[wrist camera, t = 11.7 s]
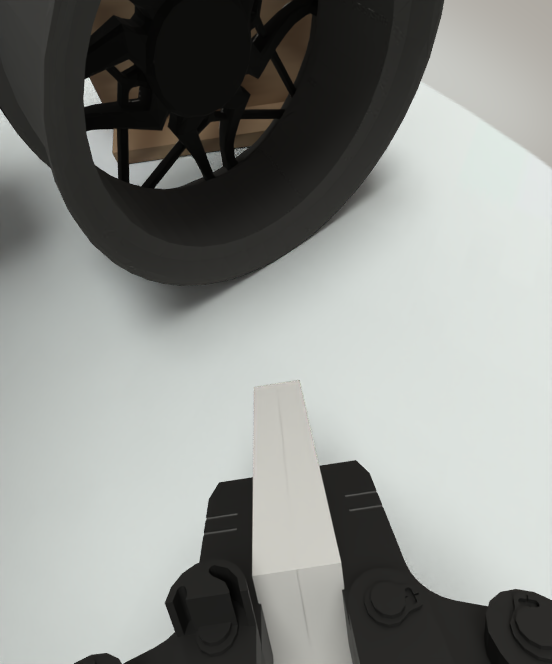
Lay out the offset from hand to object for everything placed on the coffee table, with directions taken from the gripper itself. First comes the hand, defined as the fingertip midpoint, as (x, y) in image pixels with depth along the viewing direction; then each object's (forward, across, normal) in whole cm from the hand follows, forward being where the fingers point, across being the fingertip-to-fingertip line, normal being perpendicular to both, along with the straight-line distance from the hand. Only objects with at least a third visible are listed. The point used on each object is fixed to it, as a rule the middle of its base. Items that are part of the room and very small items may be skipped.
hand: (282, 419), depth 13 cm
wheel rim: (+19, 0, +5) cm, 20 cm away
